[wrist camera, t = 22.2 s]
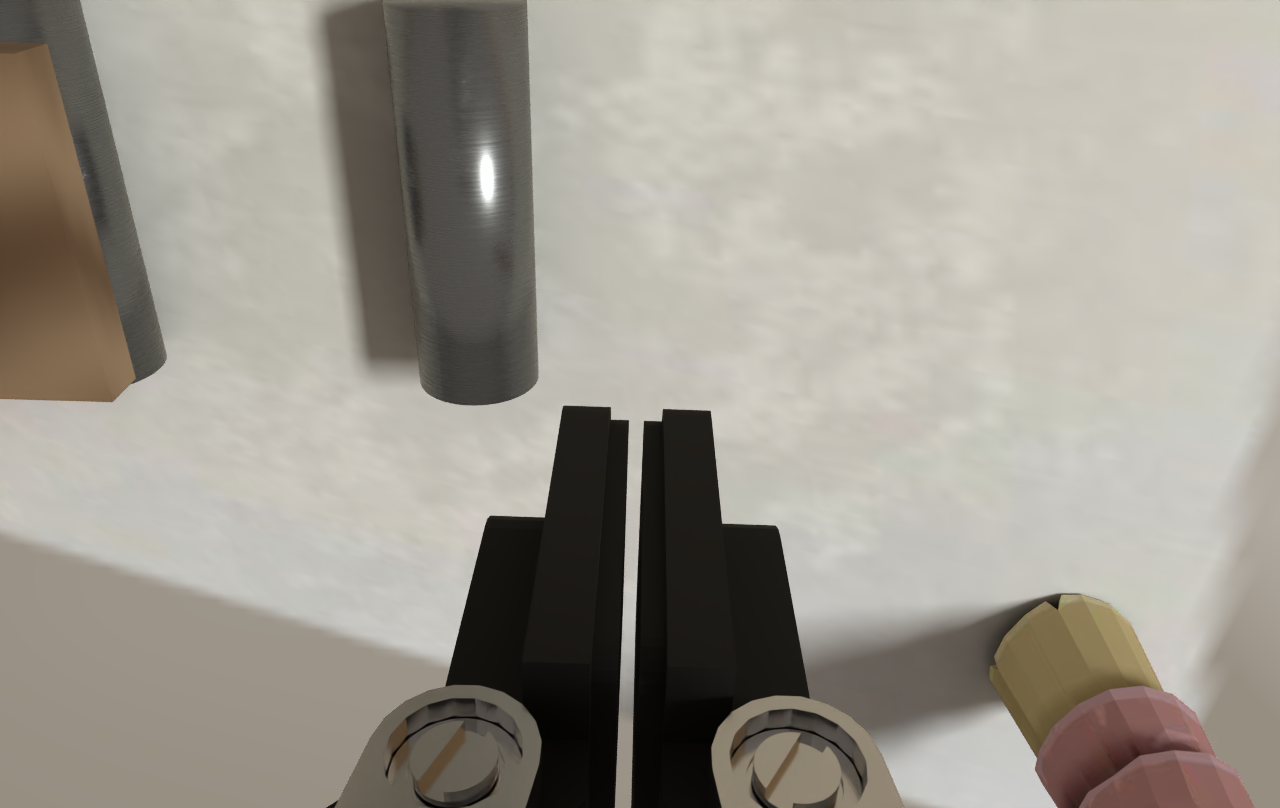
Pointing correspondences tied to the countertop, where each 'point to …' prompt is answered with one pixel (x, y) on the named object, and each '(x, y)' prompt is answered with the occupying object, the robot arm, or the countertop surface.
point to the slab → (50, 250)
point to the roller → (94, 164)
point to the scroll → (1105, 715)
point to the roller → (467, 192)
